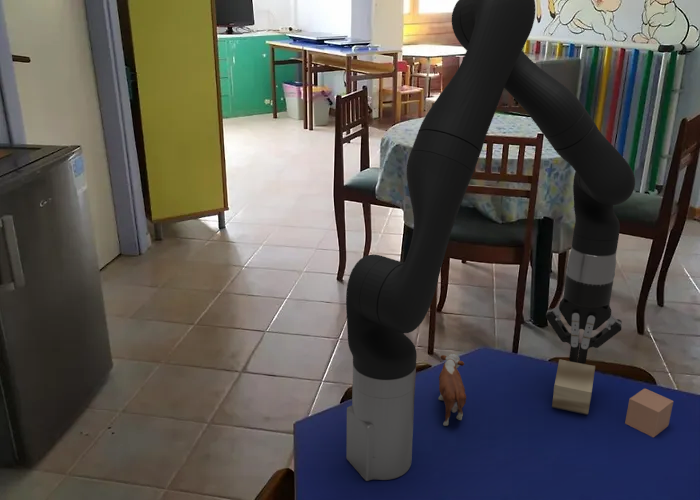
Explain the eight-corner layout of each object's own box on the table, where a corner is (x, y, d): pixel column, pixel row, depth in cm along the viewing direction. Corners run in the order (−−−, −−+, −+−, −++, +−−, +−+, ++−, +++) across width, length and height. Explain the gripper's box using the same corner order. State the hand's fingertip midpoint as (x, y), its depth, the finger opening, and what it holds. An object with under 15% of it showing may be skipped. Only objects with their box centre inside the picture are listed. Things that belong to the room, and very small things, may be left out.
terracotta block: (653, 438, 110) (658, 412, 108) (624, 423, 114) (629, 398, 112) (668, 426, 113) (673, 401, 111) (639, 412, 117) (644, 388, 115)
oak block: (587, 415, 116) (591, 392, 112) (551, 407, 118) (554, 384, 114) (591, 388, 120) (595, 366, 116) (556, 381, 122) (559, 359, 118)
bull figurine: (460, 388, 123) (463, 349, 121) (465, 432, 111) (468, 390, 108) (436, 386, 124) (439, 347, 121) (438, 431, 111) (441, 388, 108)
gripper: (632, 271, 114) (617, 361, 120) (552, 260, 118) (541, 347, 124) (632, 288, 107) (616, 382, 113) (546, 275, 112) (535, 366, 118)
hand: (576, 364), depth 119 cm, fingers closed
